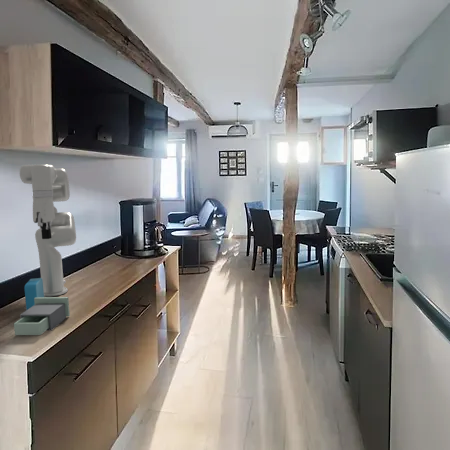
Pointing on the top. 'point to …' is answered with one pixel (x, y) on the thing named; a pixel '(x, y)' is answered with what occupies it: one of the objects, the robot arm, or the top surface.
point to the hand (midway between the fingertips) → (46, 238)
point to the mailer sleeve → (48, 312)
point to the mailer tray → (38, 318)
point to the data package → (33, 291)
